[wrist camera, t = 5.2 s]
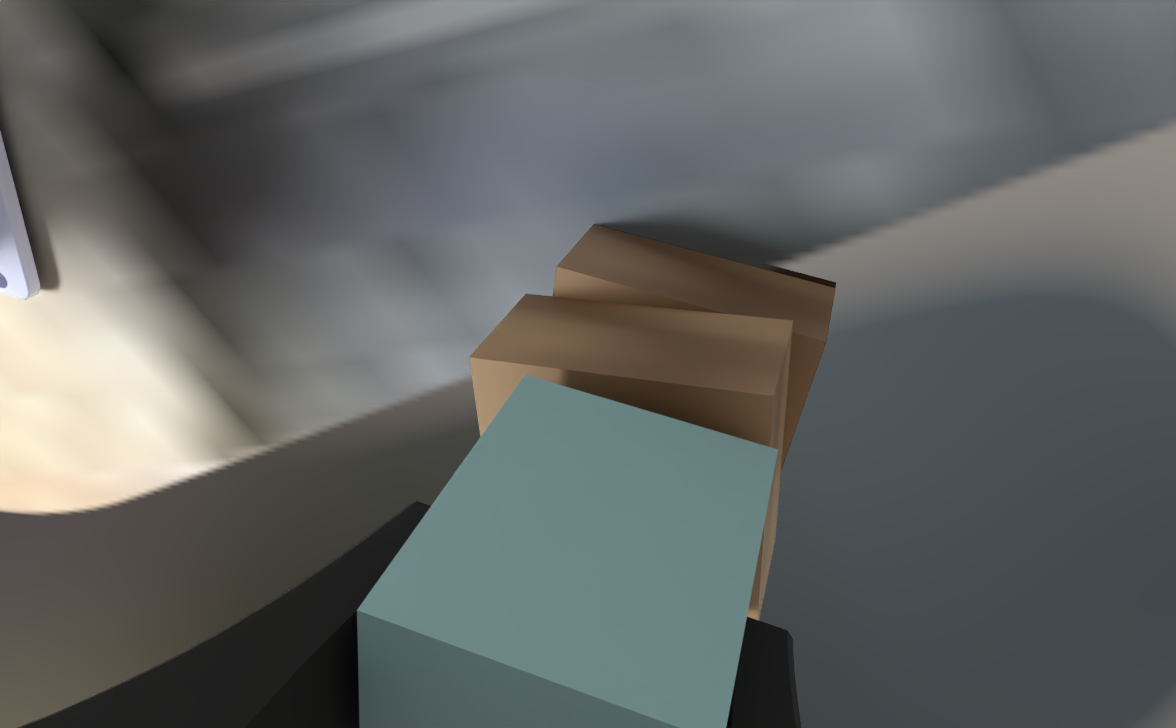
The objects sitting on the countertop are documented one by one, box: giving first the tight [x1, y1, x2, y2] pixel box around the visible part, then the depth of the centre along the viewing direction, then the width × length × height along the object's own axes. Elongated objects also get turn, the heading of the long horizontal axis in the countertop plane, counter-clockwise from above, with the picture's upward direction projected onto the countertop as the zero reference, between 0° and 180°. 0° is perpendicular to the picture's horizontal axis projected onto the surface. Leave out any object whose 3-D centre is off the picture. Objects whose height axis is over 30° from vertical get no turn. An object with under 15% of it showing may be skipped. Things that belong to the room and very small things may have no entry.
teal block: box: [357, 375, 778, 728], centre depth 12 cm, size 4×4×5 cm
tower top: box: [469, 294, 793, 621], centre depth 15 cm, size 5×5×2 cm
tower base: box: [553, 224, 836, 469], centre depth 17 cm, size 5×5×2 cm
